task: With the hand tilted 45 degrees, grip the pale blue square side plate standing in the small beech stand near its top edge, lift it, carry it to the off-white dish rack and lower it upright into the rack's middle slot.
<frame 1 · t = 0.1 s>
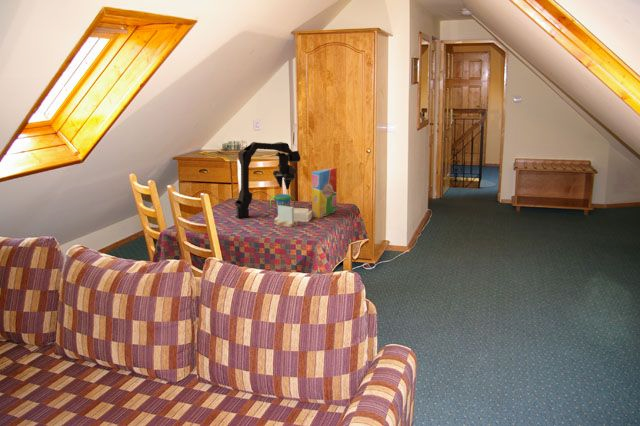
hand: (284, 188, 352), 15 cm above the table, tool pointing down, fingers open, 9 cm apart
snack cup: (283, 212, 355), on the table
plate: (285, 215, 322), point 5 cm above the table, touching stand
game box: (324, 214, 347), on the table
rack: (293, 218, 337), on the table
stand: (286, 224, 324), on the table
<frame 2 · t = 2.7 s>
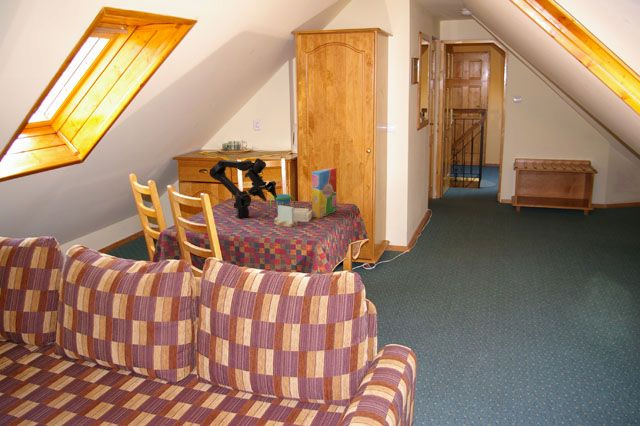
hand: (271, 199, 326), 14 cm above the table, tool tilted 45°, fingers open, 9 cm apart
nothing on the table moved.
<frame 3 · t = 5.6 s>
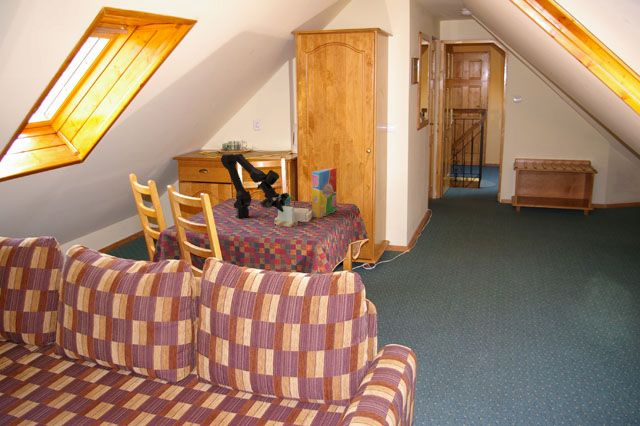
hand: (284, 211, 323), 8 cm above the table, tool tilted 45°, fingers closed on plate, 2 cm apart
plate: (285, 215, 322), point 6 cm above the table, touching gripper, stand
everything else where it was.
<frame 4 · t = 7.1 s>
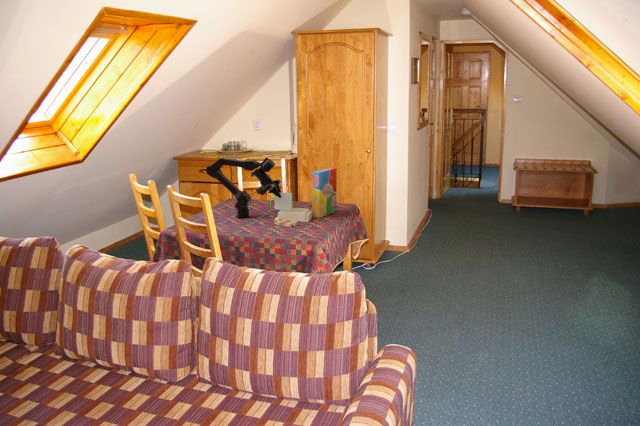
hand: (281, 197, 333), 13 cm above the table, tool tilted 45°, fingers closed on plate
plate: (283, 201, 333), point 11 cm above the table, touching gripper
everything else where it was.
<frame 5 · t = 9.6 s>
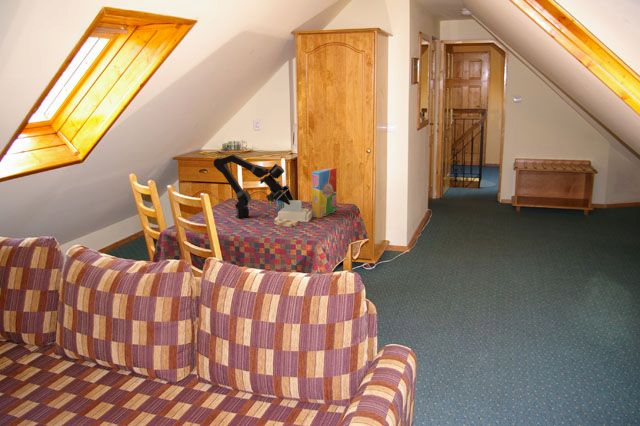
hand: (291, 202, 335), 10 cm above the table, tool tilted 45°, fingers open, 9 cm apart
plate: (292, 208, 336), point 6 cm above the table, touching rack
everything else where it was.
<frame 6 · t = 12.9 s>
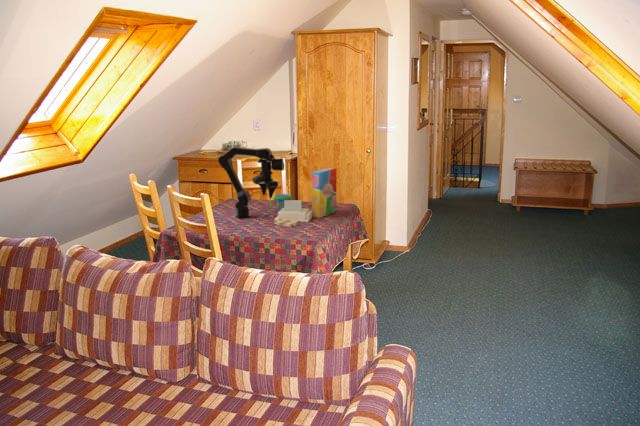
hand: (267, 196, 337), 13 cm above the table, tool pointing down, fingers open, 9 cm apart
nothing on the table moved.
at the end: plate inside the target area on the rack (0.2 cm from its centre), point 6.0 cm above the rack's base; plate tilted 0°; the gripper is holding nothing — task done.
